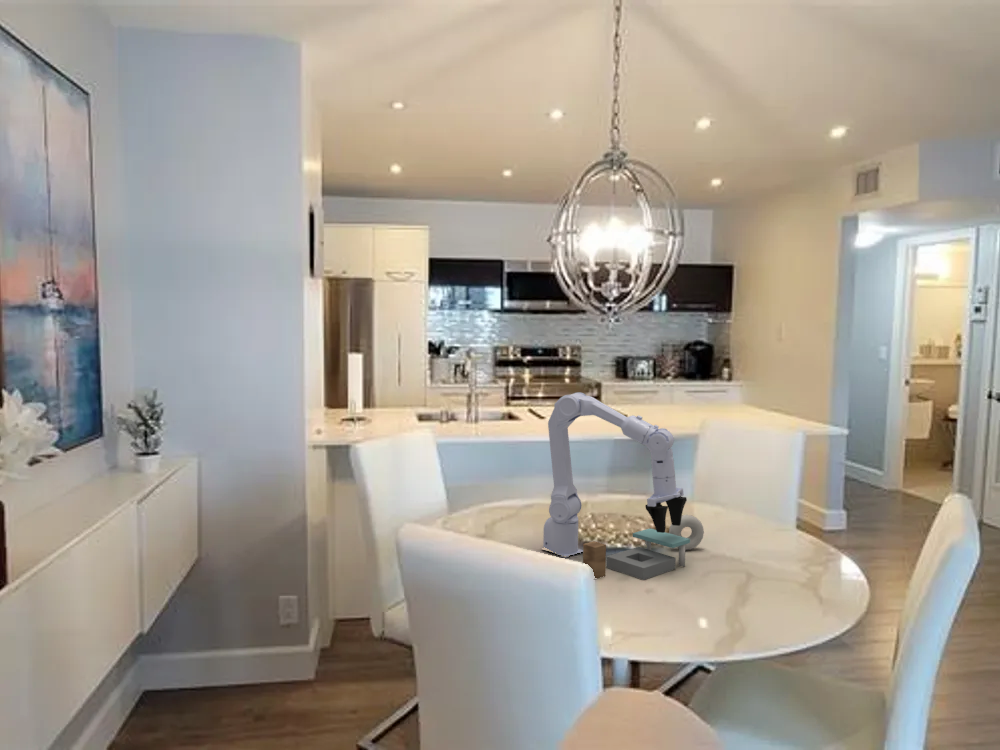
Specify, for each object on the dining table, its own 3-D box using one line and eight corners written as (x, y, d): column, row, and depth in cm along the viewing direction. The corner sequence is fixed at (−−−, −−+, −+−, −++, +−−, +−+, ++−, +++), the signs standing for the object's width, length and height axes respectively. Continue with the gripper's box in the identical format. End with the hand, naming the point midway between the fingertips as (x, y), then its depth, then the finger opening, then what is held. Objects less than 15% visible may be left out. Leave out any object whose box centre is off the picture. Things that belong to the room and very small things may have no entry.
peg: (582, 575, 187) (583, 544, 187) (593, 571, 190) (594, 541, 189) (594, 579, 184) (595, 547, 184) (605, 576, 187) (606, 544, 186)
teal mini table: (632, 558, 201) (632, 533, 200) (649, 553, 205) (650, 528, 205) (672, 571, 191) (672, 544, 190) (689, 565, 196) (690, 538, 195)
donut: (670, 552, 207) (671, 516, 206) (666, 548, 210) (667, 513, 209) (705, 551, 208) (706, 515, 207) (700, 547, 211) (701, 512, 211)
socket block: (606, 567, 193) (606, 556, 193) (638, 557, 201) (638, 546, 201) (643, 580, 184) (643, 568, 184) (675, 569, 192) (675, 557, 192)
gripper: (662, 482, 184) (667, 536, 185) (691, 472, 195) (696, 523, 195) (638, 481, 189) (643, 534, 190) (668, 471, 200) (672, 521, 200)
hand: (668, 528), depth 193 cm, fingers open, 7 cm apart
